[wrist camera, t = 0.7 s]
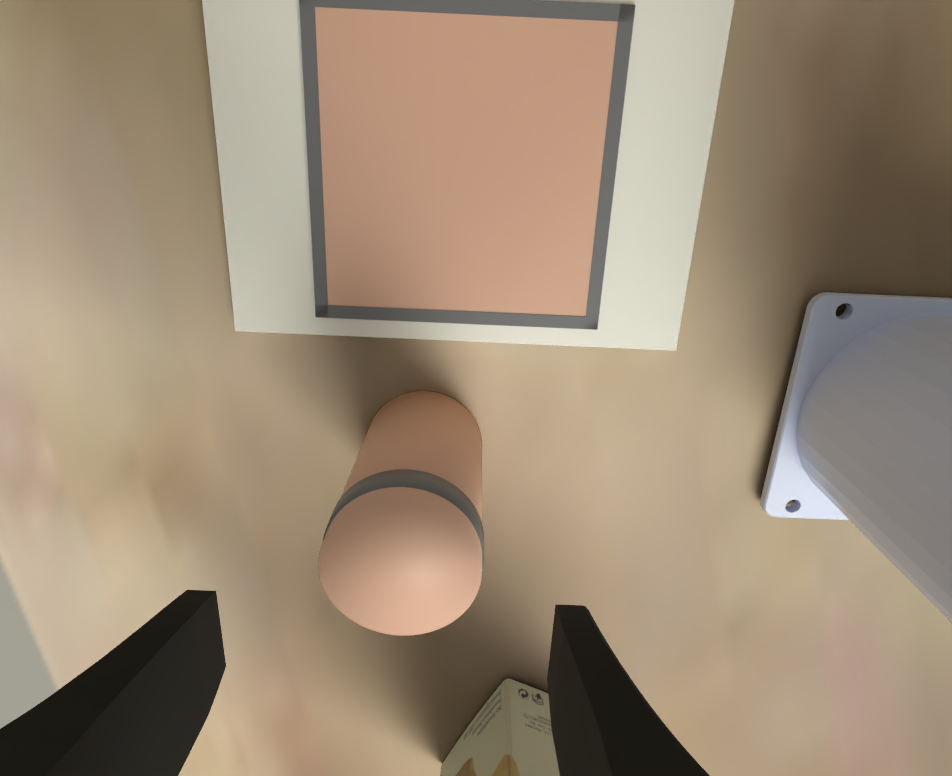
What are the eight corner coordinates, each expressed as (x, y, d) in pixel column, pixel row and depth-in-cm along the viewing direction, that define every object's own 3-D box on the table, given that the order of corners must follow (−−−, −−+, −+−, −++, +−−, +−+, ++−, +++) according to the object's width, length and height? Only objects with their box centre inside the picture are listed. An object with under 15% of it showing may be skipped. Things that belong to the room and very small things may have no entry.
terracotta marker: (486, 392, 21) (488, 501, 14) (480, 497, 22) (479, 640, 16) (364, 386, 21) (312, 494, 14) (367, 492, 22) (320, 633, 16)
